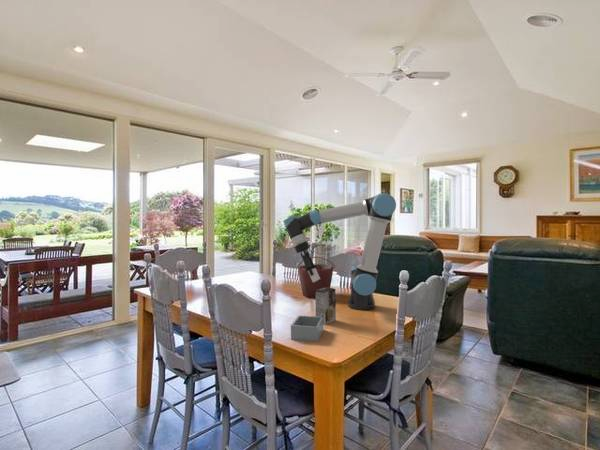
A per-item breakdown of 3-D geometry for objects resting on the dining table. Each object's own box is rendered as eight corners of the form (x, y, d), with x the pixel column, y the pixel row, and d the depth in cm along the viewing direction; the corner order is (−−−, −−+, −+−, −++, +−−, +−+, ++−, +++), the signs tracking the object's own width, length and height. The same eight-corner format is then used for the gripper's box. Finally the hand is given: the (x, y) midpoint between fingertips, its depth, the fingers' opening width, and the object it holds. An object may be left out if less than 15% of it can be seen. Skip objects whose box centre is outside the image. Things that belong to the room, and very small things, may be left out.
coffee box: (325, 317, 180) (325, 286, 179) (336, 320, 176) (336, 288, 175) (314, 322, 173) (314, 289, 172) (325, 325, 169) (325, 291, 168)
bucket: (292, 298, 221) (292, 258, 220) (302, 290, 242) (302, 254, 241) (331, 300, 214) (331, 259, 213) (338, 292, 235) (338, 255, 234)
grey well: (323, 329, 162) (323, 317, 161) (317, 341, 147) (317, 327, 147) (298, 328, 164) (298, 315, 164) (290, 339, 150) (290, 325, 150)
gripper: (297, 247, 200) (312, 281, 197) (289, 245, 176) (307, 285, 172) (309, 241, 199) (325, 276, 196) (303, 239, 175) (321, 279, 172)
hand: (316, 280), depth 184 cm, fingers open, 13 cm apart
